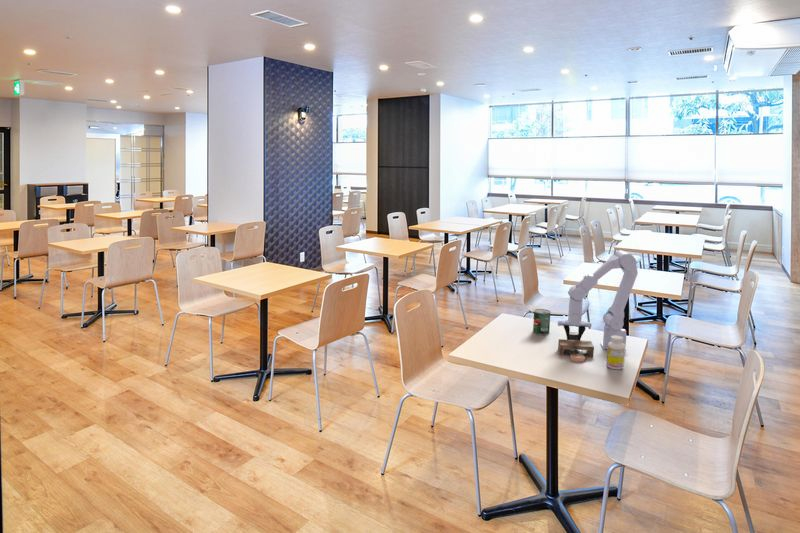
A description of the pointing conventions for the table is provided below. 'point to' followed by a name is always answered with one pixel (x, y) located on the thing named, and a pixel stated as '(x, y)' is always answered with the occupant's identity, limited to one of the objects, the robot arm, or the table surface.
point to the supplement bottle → (616, 353)
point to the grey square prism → (574, 337)
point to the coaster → (577, 358)
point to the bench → (575, 346)
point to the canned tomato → (541, 321)
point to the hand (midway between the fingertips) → (573, 341)
